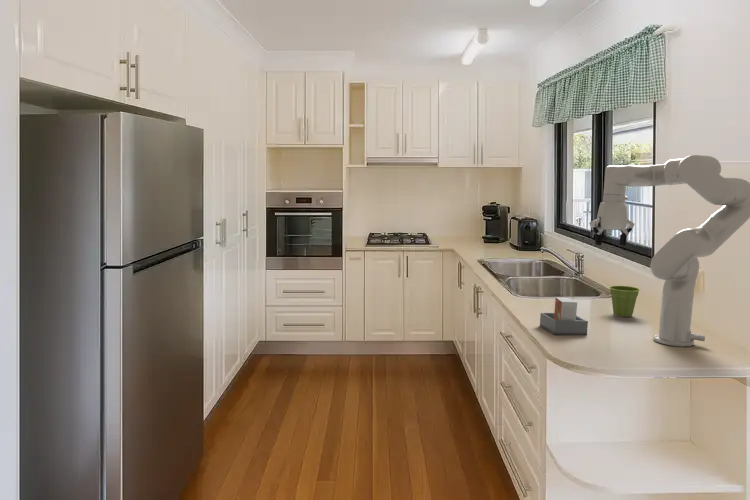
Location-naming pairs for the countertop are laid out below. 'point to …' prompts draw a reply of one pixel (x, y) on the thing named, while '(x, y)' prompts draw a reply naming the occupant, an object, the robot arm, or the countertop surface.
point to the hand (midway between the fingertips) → (610, 245)
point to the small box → (565, 309)
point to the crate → (563, 325)
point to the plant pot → (623, 300)
